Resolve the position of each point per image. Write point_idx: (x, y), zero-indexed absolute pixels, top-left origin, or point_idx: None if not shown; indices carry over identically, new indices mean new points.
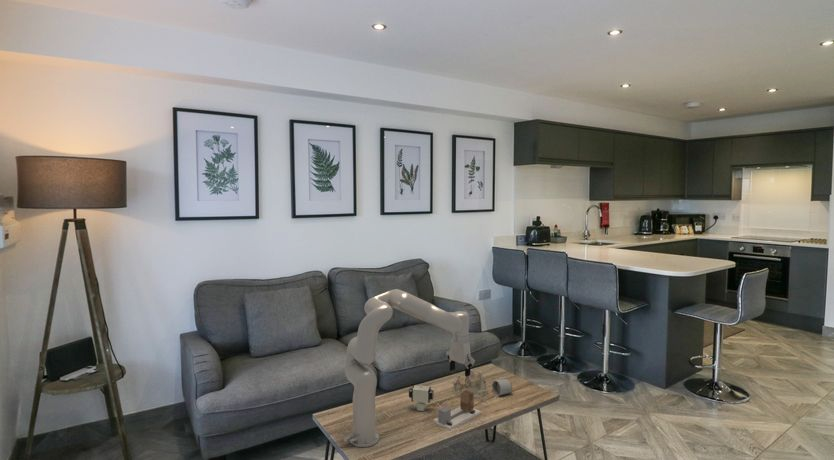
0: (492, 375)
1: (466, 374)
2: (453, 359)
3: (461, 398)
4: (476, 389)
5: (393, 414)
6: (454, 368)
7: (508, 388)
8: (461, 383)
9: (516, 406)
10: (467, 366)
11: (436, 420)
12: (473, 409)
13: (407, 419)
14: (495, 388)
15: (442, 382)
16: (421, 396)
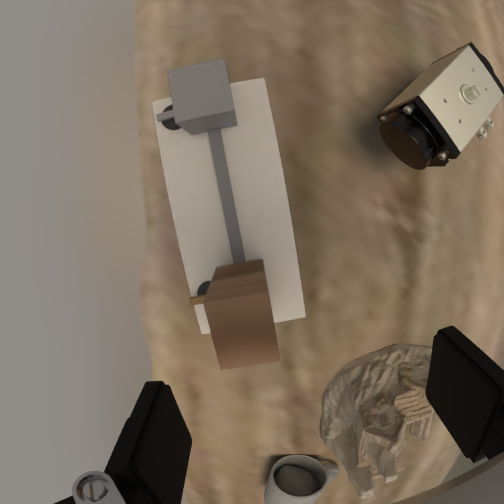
0: (397, 487)
1: (144, 405)
2: (483, 500)
3: (257, 279)
4: (345, 422)
5: (411, 11)
6: (431, 394)
7: (265, 494)
8: (412, 391)
9: None
10: (76, 499)
11: (247, 84)
12: (202, 303)
13: (349, 16)
14: (317, 471)
15: (495, 348)
16: (420, 81)
